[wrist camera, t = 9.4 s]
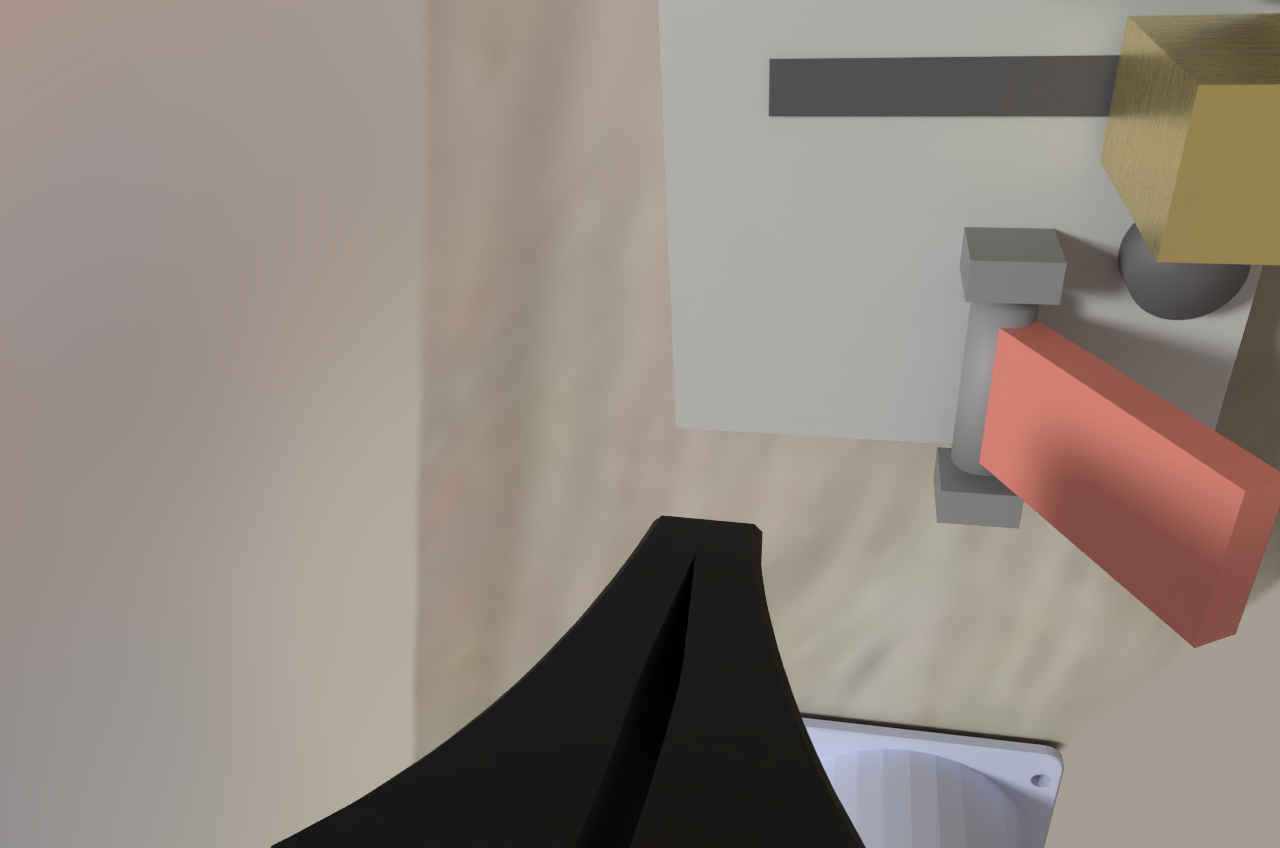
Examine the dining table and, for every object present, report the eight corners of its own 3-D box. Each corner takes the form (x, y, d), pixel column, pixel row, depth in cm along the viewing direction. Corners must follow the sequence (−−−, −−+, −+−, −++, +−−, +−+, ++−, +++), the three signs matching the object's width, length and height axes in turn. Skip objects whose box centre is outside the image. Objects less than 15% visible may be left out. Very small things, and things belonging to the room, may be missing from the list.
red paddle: (988, 438, 21) (1240, 643, 16) (939, 450, 21) (1179, 666, 16) (1012, 281, 20) (1307, 456, 14) (958, 293, 19) (1240, 477, 14)
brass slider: (1250, 163, 17) (1349, 267, 14) (1100, 161, 18) (1156, 262, 14) (1291, 13, 16) (1413, 83, 12) (1128, 16, 16) (1198, 85, 13)
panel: (1181, 462, 22) (1216, 543, 20) (685, 432, 24) (665, 502, 22) (1424, -410, 14) (1529, -445, 12) (657, -341, 16) (621, -360, 14)
